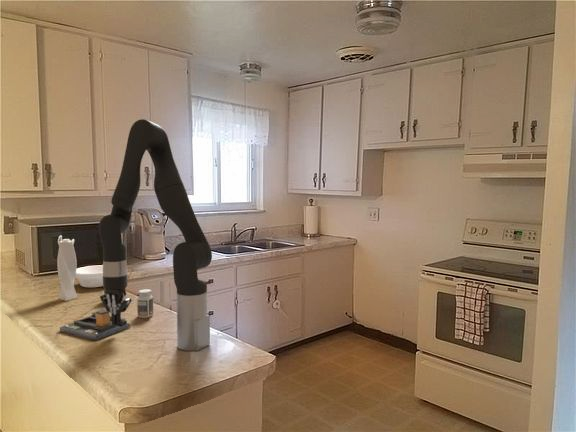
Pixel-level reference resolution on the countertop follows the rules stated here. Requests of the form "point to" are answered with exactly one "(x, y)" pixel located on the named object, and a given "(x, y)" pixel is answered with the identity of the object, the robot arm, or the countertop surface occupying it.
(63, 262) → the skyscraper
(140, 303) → the pill bottle
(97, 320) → the lever
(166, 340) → the countertop surface
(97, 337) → the breaker panel
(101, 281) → the bowl
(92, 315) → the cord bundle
